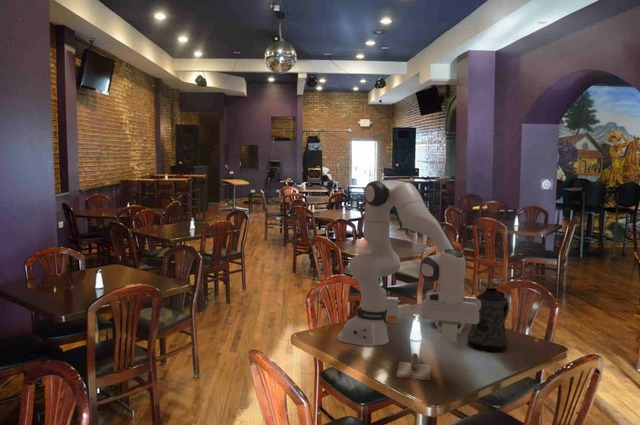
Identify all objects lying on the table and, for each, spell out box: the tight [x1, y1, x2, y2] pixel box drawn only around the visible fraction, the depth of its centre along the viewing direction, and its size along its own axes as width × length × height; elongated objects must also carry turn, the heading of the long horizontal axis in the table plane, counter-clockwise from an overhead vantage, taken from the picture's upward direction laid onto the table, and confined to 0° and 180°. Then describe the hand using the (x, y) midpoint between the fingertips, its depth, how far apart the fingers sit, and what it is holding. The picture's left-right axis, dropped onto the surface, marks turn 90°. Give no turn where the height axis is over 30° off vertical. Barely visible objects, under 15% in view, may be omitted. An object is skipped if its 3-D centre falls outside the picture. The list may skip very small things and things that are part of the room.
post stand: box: [396, 352, 432, 381], centre depth 197 cm, size 12×12×7 cm
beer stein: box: [467, 287, 510, 354], centre depth 228 cm, size 16×19×25 cm
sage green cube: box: [440, 321, 459, 343], centre depth 190 cm, size 5×5×6 cm
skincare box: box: [386, 296, 399, 324], centre depth 259 cm, size 6×4×12 cm
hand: (449, 332), depth 190 cm, fingers closed on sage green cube, 5 cm apart
